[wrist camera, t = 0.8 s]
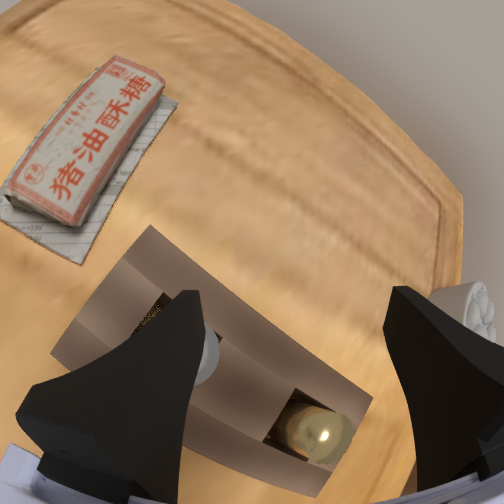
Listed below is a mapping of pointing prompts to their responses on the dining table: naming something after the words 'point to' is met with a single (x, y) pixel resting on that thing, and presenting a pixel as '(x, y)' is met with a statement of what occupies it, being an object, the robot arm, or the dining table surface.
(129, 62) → the packaged product
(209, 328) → the grey metal peg
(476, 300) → the lumpy-topped squat cylinder
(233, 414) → the walnut block
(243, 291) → the dining table surface
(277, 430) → the brass peg
